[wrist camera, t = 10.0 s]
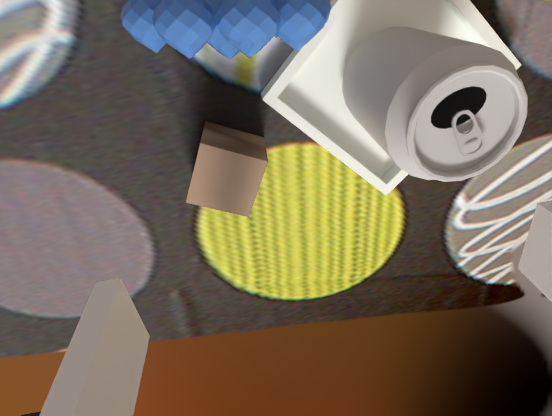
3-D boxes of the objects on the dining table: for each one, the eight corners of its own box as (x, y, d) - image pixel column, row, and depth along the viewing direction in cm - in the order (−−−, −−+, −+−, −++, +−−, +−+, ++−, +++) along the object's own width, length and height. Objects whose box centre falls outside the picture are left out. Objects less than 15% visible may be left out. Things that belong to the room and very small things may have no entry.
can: (418, 3, 26) (535, 15, 16) (443, 96, 30) (551, 153, 20) (323, 58, 27) (375, 100, 17) (359, 140, 31) (419, 215, 21)
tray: (260, 93, 29) (262, 99, 27) (390, -80, 24) (402, -85, 22) (378, 185, 34) (385, 195, 33) (504, 60, 29) (521, 65, 28)
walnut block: (192, 173, 32) (185, 202, 28) (205, 120, 30) (200, 143, 26) (247, 187, 33) (248, 217, 29) (263, 137, 31) (268, 161, 27)
